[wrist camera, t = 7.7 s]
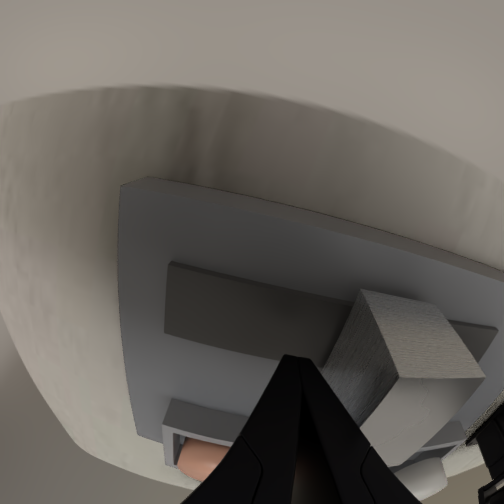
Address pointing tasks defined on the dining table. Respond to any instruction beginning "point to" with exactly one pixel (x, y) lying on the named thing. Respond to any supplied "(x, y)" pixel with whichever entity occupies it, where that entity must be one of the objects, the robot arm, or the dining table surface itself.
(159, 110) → the dining table surface
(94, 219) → the dining table surface
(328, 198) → the dining table surface
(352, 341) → the rough gray brick
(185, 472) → the terracotta button
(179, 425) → the panel
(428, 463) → the grey button
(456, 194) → the dining table surface
